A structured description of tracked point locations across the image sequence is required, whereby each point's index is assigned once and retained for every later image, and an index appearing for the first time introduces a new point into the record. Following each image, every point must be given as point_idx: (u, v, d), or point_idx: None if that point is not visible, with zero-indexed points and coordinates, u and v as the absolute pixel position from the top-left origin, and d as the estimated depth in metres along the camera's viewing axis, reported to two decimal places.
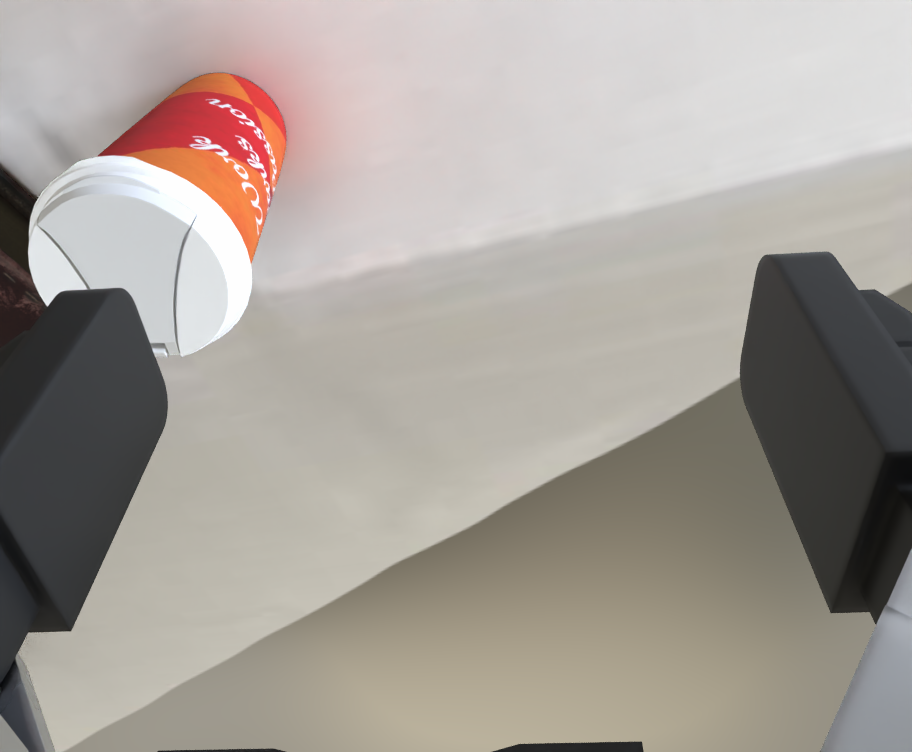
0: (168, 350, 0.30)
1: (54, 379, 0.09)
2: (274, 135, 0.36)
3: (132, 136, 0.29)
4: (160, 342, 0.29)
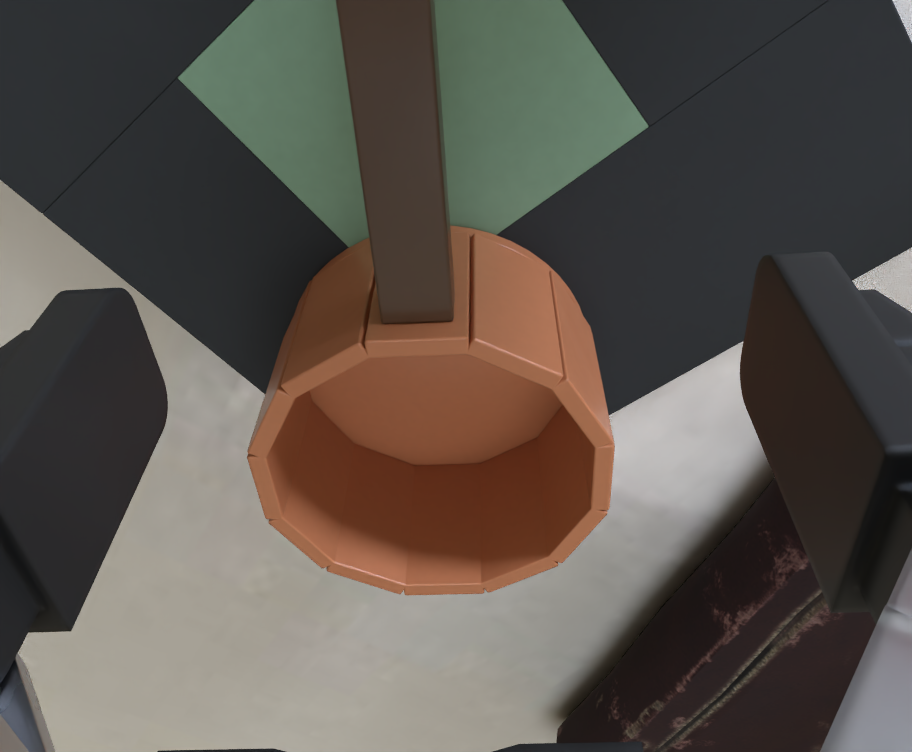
0: None
1: (54, 379, 0.09)
2: None
3: None
4: None
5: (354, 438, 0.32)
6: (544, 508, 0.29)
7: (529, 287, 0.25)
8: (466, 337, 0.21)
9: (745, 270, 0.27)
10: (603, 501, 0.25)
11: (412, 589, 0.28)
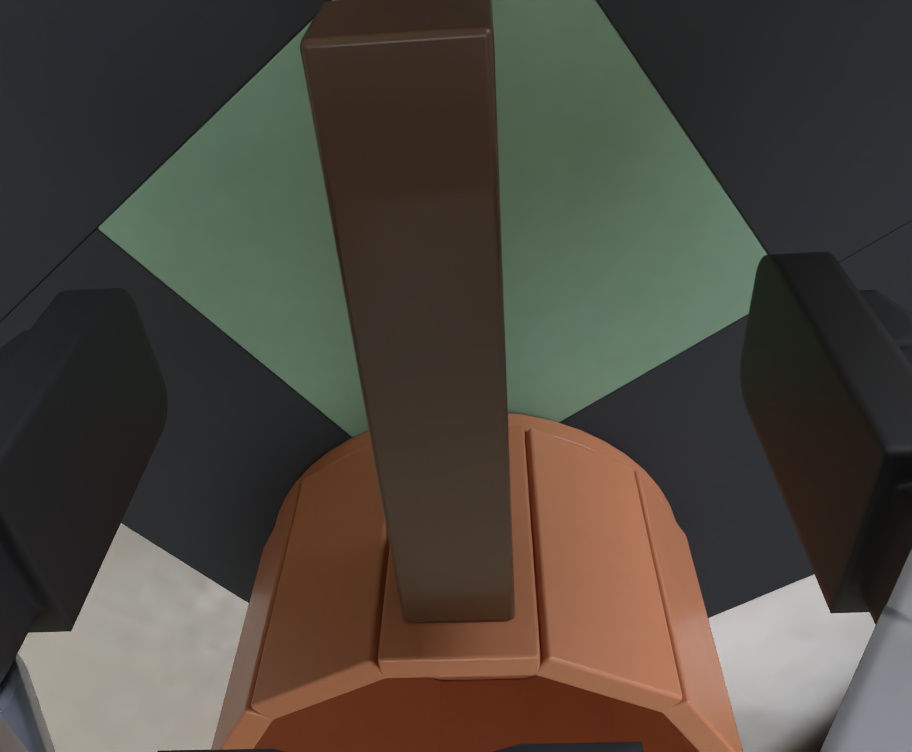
0: None
1: (54, 379, 0.09)
2: None
3: None
4: None
5: None
6: None
7: (613, 517, 0.17)
8: (536, 655, 0.14)
9: None
10: None
11: None
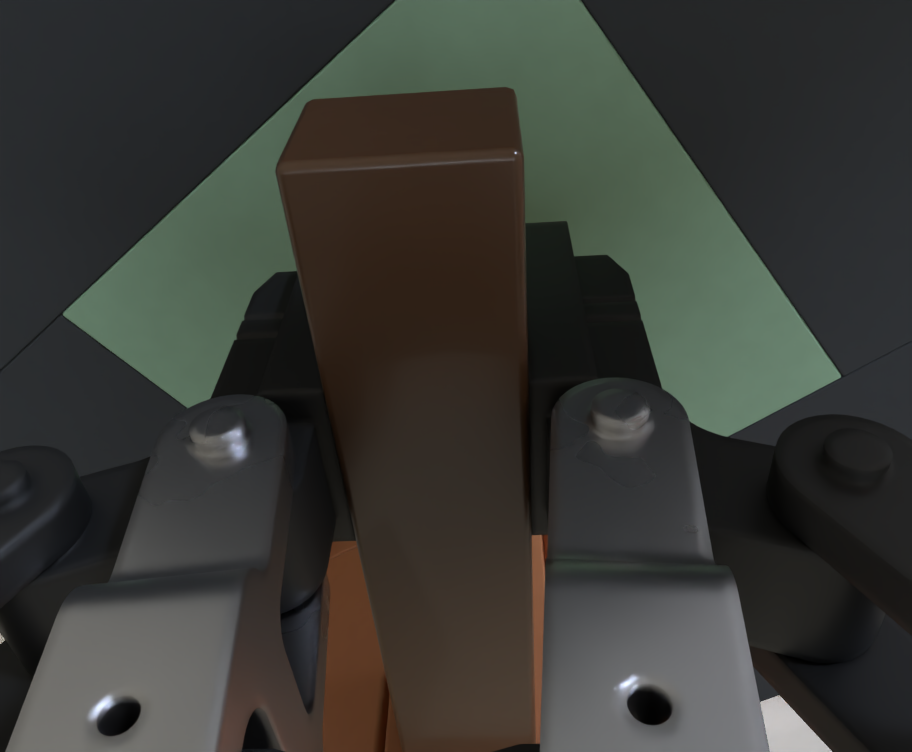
0: None
1: None
2: None
3: None
4: None
5: None
6: None
7: None
8: None
9: None
10: None
11: None
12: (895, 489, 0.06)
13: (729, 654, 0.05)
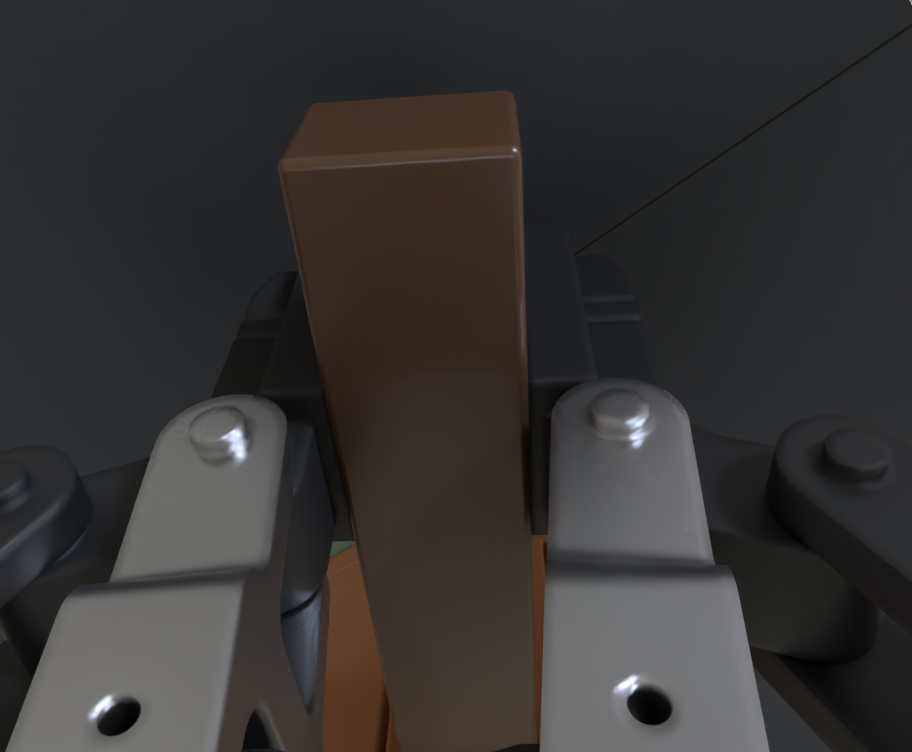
0: None
1: None
2: None
3: None
4: None
5: None
6: None
7: None
8: None
9: None
10: None
11: None
12: (895, 489, 0.06)
13: (728, 654, 0.05)
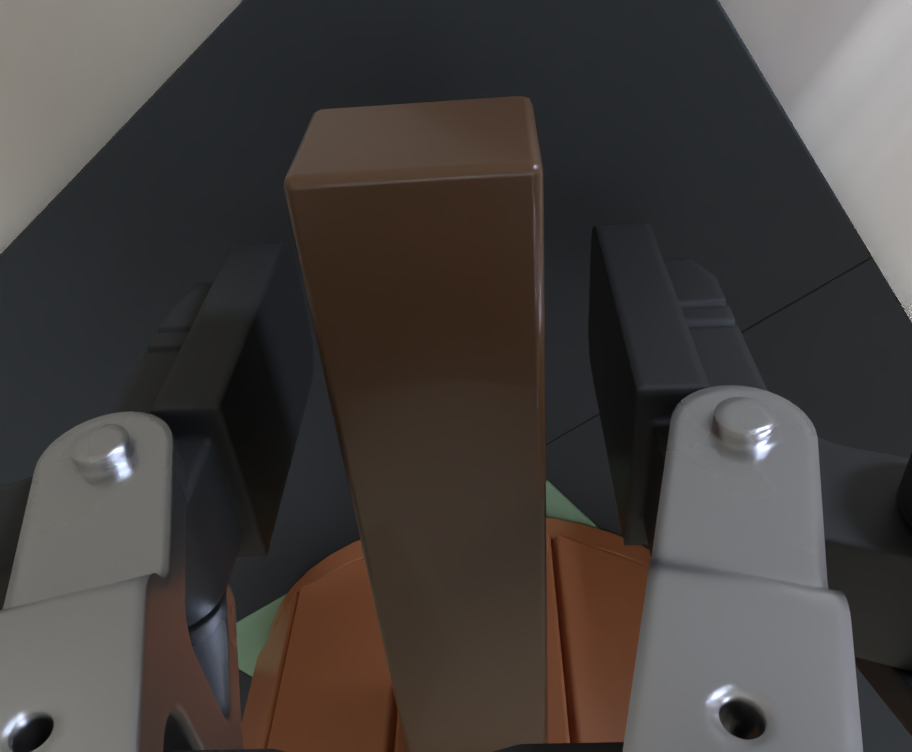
0: None
1: (253, 321, 0.09)
2: None
3: None
4: None
5: None
6: None
7: None
8: None
9: None
10: None
11: None
12: None
13: (833, 681, 0.05)
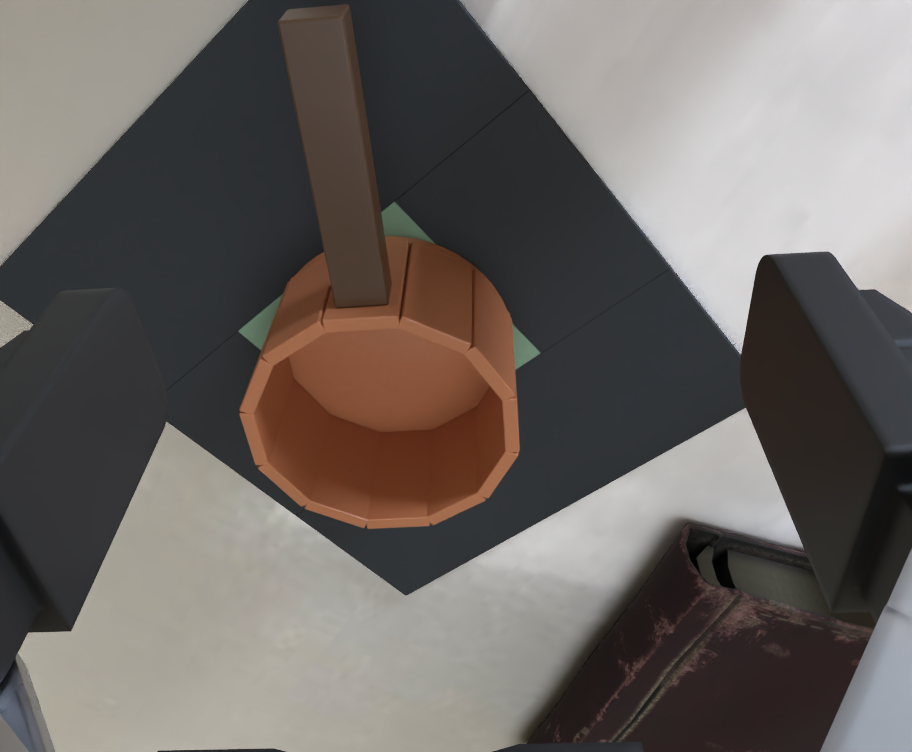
0: None
1: (54, 379, 0.09)
2: None
3: None
4: None
5: (329, 410, 0.39)
6: (477, 458, 0.36)
7: (453, 281, 0.33)
8: (396, 315, 0.29)
9: (616, 433, 0.41)
10: (514, 444, 0.33)
11: (372, 523, 0.36)
12: None
13: None
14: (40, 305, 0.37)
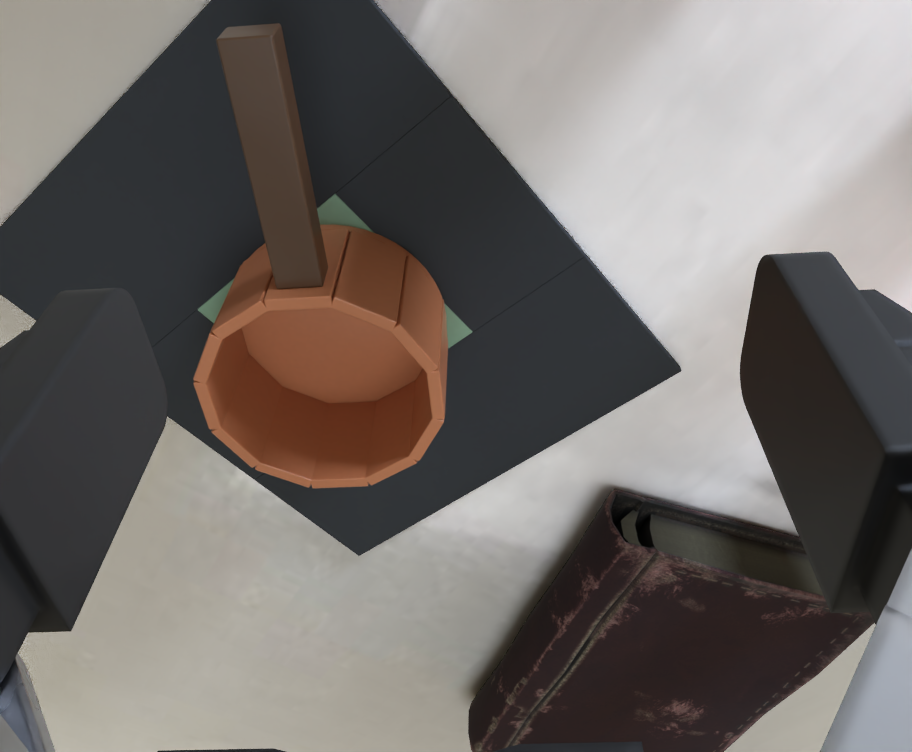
0: None
1: (54, 379, 0.09)
2: None
3: None
4: None
5: (282, 382, 0.43)
6: (411, 426, 0.40)
7: (386, 266, 0.37)
8: (329, 296, 0.33)
9: (544, 406, 0.45)
10: (439, 412, 0.37)
11: (316, 483, 0.40)
12: None
13: None
14: (16, 284, 0.41)
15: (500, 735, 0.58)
